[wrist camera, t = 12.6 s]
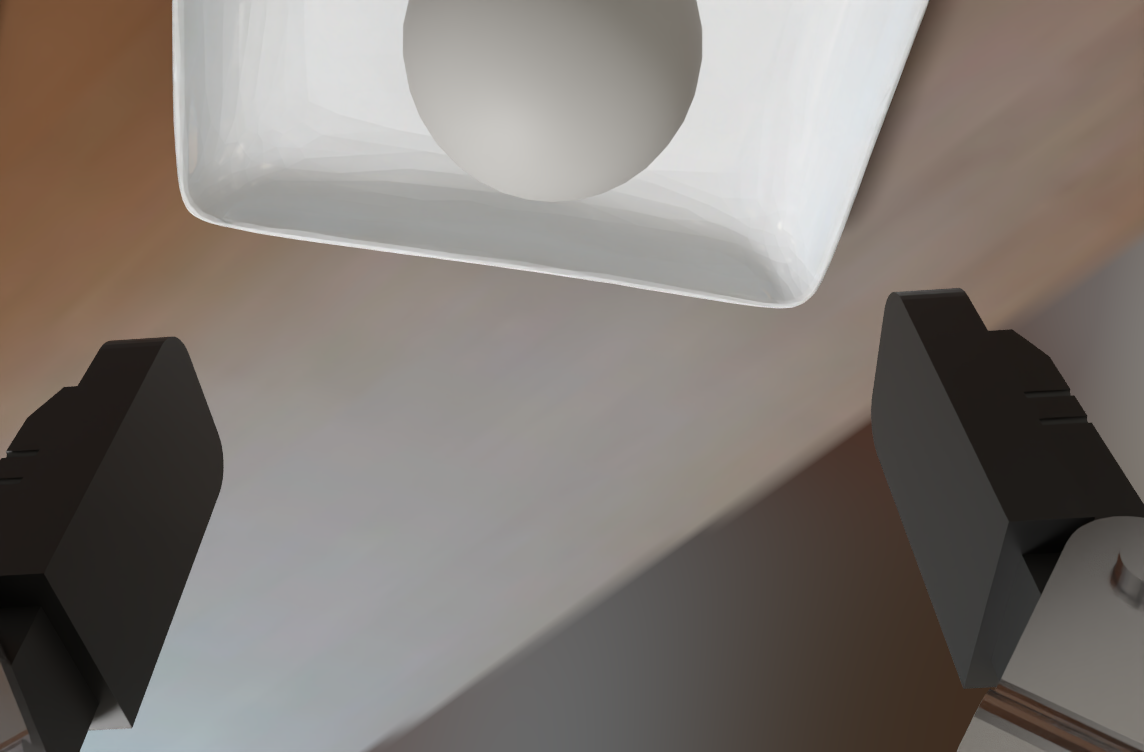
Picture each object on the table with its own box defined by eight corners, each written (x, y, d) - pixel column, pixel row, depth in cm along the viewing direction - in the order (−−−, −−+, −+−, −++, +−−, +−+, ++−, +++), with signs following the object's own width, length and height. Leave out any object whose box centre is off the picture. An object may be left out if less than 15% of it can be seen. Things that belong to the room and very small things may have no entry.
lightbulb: (457, -210, 25) (404, -104, 16) (696, -152, 26) (766, -21, 17) (425, 32, 29) (368, 225, 20) (635, 76, 30) (668, 280, 21)
